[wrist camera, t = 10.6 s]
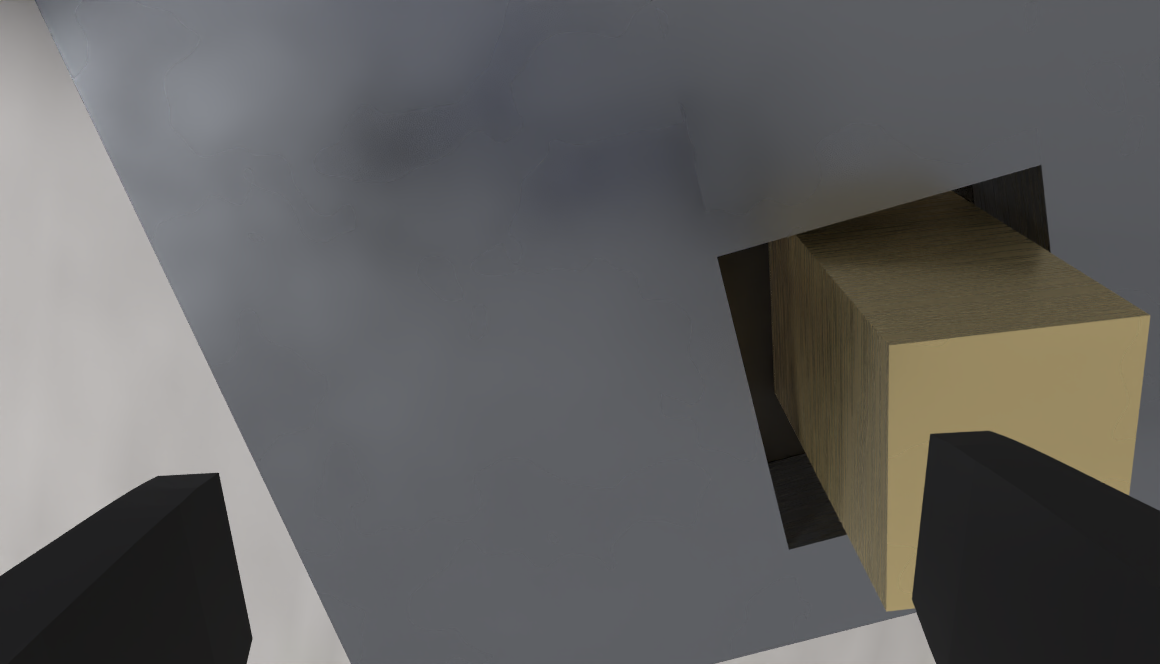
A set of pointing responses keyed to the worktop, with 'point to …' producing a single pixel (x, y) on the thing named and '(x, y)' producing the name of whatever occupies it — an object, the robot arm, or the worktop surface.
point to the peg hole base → (581, 275)
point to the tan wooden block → (942, 361)
